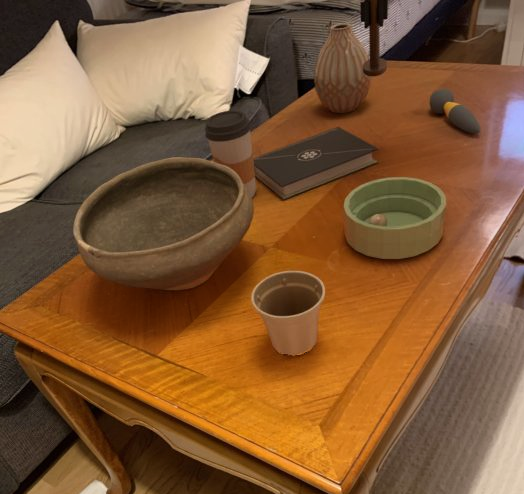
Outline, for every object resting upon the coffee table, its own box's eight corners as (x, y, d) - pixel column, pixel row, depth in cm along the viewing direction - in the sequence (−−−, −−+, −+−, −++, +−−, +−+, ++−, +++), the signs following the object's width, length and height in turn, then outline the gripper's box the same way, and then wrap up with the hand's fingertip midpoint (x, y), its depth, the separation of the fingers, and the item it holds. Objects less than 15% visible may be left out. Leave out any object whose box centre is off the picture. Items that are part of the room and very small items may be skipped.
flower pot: (289, 309, 76) (282, 262, 70) (342, 333, 71) (339, 284, 65) (247, 348, 72) (236, 300, 66) (300, 376, 67) (293, 327, 61)
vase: (307, 117, 125) (299, 35, 112) (331, 95, 132) (327, 16, 120) (357, 121, 119) (355, 35, 106) (380, 98, 126) (380, 16, 114)
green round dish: (441, 207, 89) (445, 175, 85) (443, 262, 79) (447, 228, 74) (350, 209, 93) (349, 178, 89) (340, 261, 83) (338, 229, 78)
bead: (366, 232, 87) (384, 233, 87) (368, 231, 84) (387, 232, 84) (368, 213, 86) (387, 215, 86) (371, 212, 83) (389, 213, 83)
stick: (391, 68, 97) (392, -14, 86) (373, 79, 97) (372, -2, 85) (376, 60, 100) (375, -21, 88) (358, 70, 99) (355, -10, 87)
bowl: (169, 216, 101) (147, 146, 91) (293, 241, 89) (283, 163, 79) (67, 304, 86) (27, 231, 76) (200, 349, 73) (173, 269, 63)
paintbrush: (494, 132, 105) (498, 107, 102) (472, 139, 104) (476, 114, 101) (438, 103, 119) (440, 80, 115) (419, 109, 118) (420, 86, 115)
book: (338, 139, 114) (337, 126, 111) (378, 163, 104) (378, 148, 101) (250, 172, 109) (248, 159, 107) (283, 200, 99) (281, 186, 97)
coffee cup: (269, 193, 102) (257, 115, 91) (234, 210, 99) (218, 133, 88) (246, 180, 107) (232, 105, 96) (212, 196, 104) (194, 121, 94)
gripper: (319, -101, 78) (326, 36, 91) (429, -120, 74) (420, 26, 87) (325, -108, 83) (331, 24, 96) (429, -126, 79) (421, 14, 92)
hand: (374, 24), depth 91 cm, fingers closed on stick
